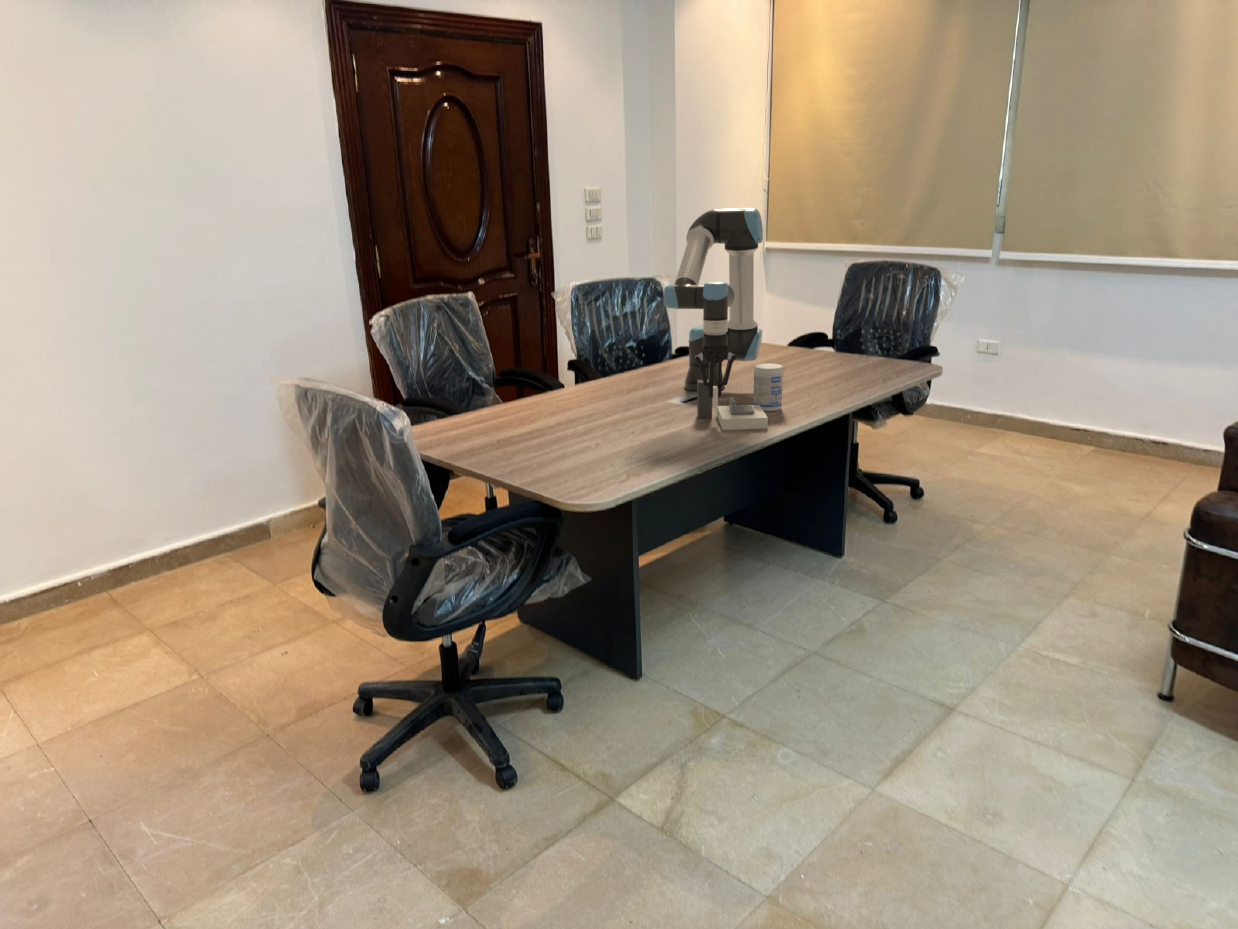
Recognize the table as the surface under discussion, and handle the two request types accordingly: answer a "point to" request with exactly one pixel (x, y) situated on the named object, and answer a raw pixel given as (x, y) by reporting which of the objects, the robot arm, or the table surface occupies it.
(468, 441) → the table surface
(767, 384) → the supplement tub
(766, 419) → the socket plate
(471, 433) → the table surface
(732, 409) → the plate
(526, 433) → the table surface
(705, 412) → the plug
